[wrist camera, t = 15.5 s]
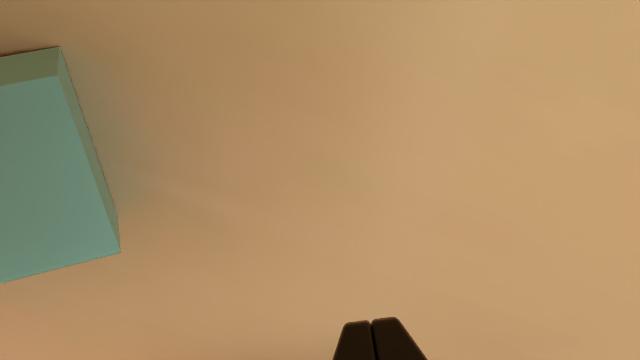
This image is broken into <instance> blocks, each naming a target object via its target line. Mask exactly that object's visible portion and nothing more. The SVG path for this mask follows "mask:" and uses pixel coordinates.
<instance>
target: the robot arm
mask: <svg viewBox="0 0 640 360" xmlns="http://www.w3.org/2000/svg"><path fill="white" fill-rule="evenodd" d="M333 360H427V358H426V357H425V355H424V354H423V353H422V351H421V350H420V348H419V347H418V346H417V344H416V343H415V341H414V340H413V339H412V337H411V336H410V335H409V333H408V332H407V330H406V329H405V328H404V326H403V325H402V323H401V322H400V321H399V320H398V319H397V318H396V317H387V318H380V319H374V320H373V321H372V323H370V322H369V321H366V320H364V321H356V322H349V323H346V324H345V325H344V327H343V329H342V332H341V335H340V338H339V341H338V345H337V348H336V351H335V354H334V357H333Z"/></svg>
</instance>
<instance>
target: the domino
mask: <svg viewBox="0 0 640 360" xmlns="http://www.w3.org/2000/svg"><path fill="white" fill-rule="evenodd" d="M117 253H121V251H120V239H119V228H118V216H117V213H116V210H115V207H114V204H113V201H112V198H111V195H110V192H109V189H108V187H107V184H106V181H105V178H104V175H103V172H102V169H101V166H100V163H99V160H98V157H97V154H96V152H95V149H94V146H93V143H92V140H91V137H90V134H89V131H88V128H87V125H86V122H85V119H84V117H83V114H82V111H81V108H80V105H79V102H78V99H77V96H76V93H75V90H74V87H73V84H72V82H71V79H70V76H69V73H68V70H67V67H66V64H65V61H64V58H63V55H62V52H61V49H60V47H54V48H48V49H43V50H37V51H31V52H26V53H20V54H15V55H9V56H4V57H0V283H4V282H8V281H12V280H16V279H20V278H24V277H27V276H31V275H35V274H39V273H43V272H47V271H51V270H55V269H59V268H63V267H66V266H70V265H74V264H78V263H82V262H86V261H90V260H94V259H98V258H102V257H105V256H109V255H113V254H117Z"/></svg>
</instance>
